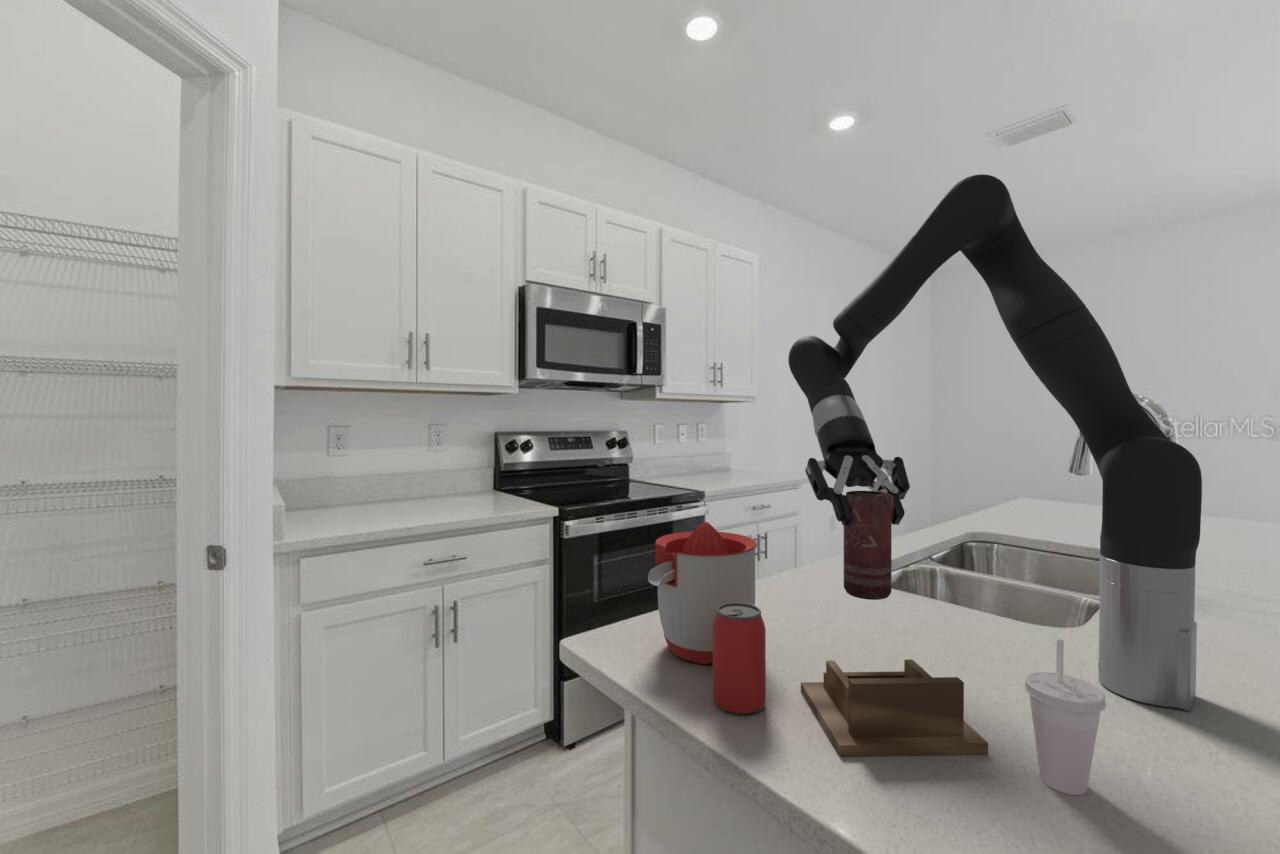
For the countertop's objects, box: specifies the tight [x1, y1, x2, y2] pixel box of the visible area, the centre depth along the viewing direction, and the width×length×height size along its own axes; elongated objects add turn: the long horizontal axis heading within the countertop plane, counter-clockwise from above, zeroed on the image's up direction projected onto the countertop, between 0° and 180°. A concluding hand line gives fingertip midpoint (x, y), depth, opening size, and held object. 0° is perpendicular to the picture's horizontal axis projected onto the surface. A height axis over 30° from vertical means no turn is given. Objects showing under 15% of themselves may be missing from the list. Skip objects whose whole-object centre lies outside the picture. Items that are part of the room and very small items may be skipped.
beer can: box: [712, 602, 767, 715], centre depth 71 cm, size 7×7×12 cm
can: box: [843, 490, 894, 601], centre depth 78 cm, size 6×6×14 cm
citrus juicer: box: [647, 521, 758, 665], centre depth 87 cm, size 16×17×20 cm
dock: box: [800, 659, 989, 757], centre depth 67 cm, size 14×16×7 cm
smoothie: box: [1024, 638, 1107, 796], centre depth 56 cm, size 6×6×14 cm
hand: (872, 521), depth 76 cm, fingers closed on can, 6 cm apart
